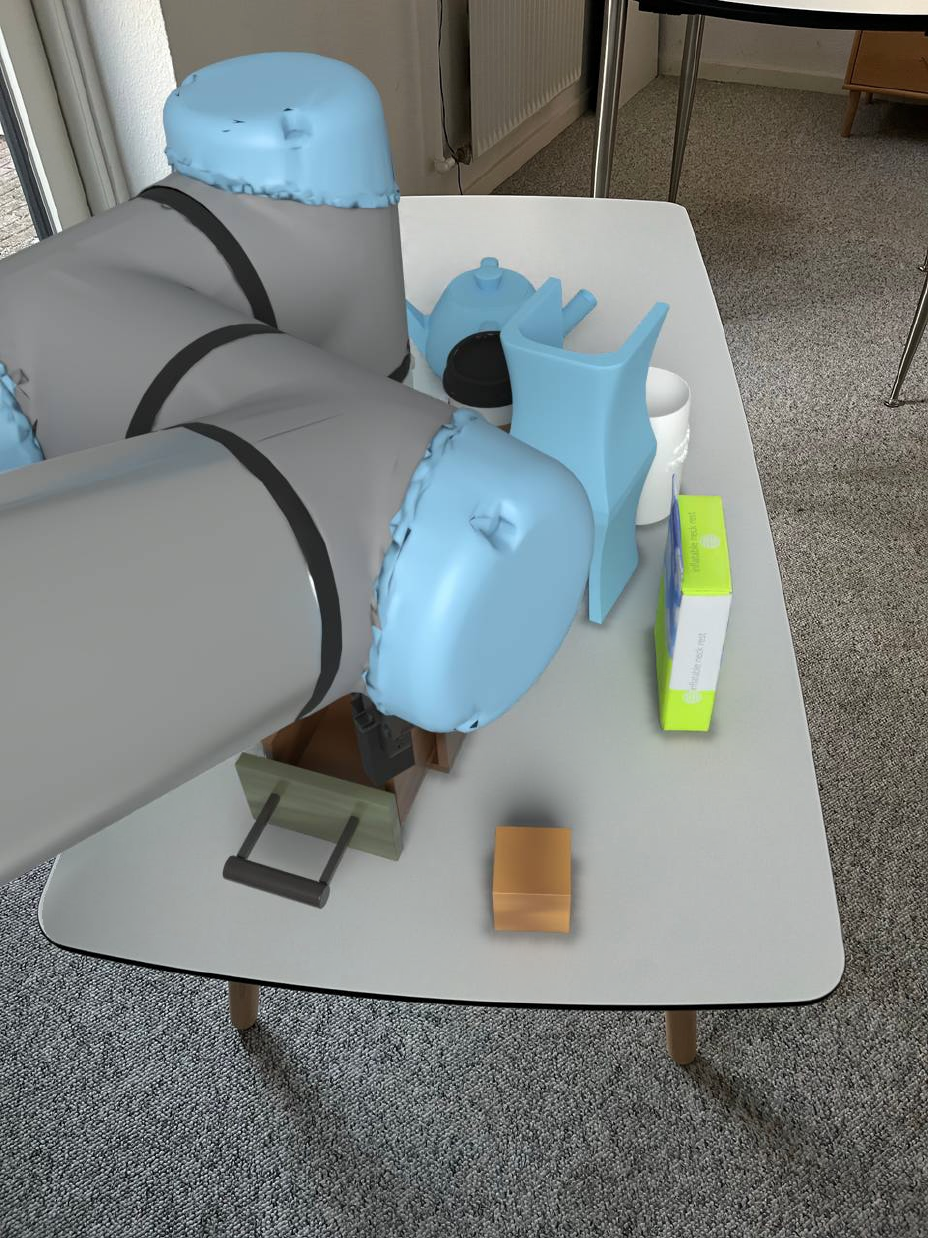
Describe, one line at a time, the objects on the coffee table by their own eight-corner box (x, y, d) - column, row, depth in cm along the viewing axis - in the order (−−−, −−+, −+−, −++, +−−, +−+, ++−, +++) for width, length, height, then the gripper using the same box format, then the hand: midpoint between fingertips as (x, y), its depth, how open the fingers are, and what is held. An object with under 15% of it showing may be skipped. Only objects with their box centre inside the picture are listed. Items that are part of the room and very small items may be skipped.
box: (710, 734, 82) (742, 572, 70) (656, 732, 83) (677, 571, 70) (700, 633, 89) (726, 470, 77) (650, 632, 90) (668, 469, 77)
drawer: (359, 949, 70) (346, 897, 66) (207, 900, 73) (183, 847, 69) (462, 716, 83) (458, 659, 78) (329, 683, 86) (317, 626, 81)
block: (494, 930, 72) (492, 893, 68) (497, 864, 75) (495, 825, 72) (569, 933, 72) (571, 895, 68) (568, 866, 75) (570, 828, 71)
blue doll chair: (645, 552, 96) (671, 303, 78) (601, 624, 91) (617, 373, 72) (547, 521, 100) (549, 275, 82) (498, 588, 94) (489, 339, 76)
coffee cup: (549, 472, 105) (551, 338, 94) (517, 526, 100) (515, 390, 89) (471, 453, 107) (464, 320, 97) (435, 504, 102) (424, 370, 91)
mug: (688, 451, 106) (702, 346, 97) (676, 530, 98) (690, 423, 89) (605, 442, 108) (612, 338, 99) (587, 520, 100) (592, 413, 91)
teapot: (509, 427, 110) (507, 331, 102) (390, 370, 118) (379, 276, 110) (599, 361, 118) (604, 266, 110) (481, 311, 126) (477, 220, 118)
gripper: (493, 492, 44) (505, 809, 61) (333, 355, 52) (384, 672, 69) (336, 571, 41) (395, 880, 58) (192, 414, 49) (282, 728, 66)
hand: (389, 767), depth 64 cm, fingers closed
